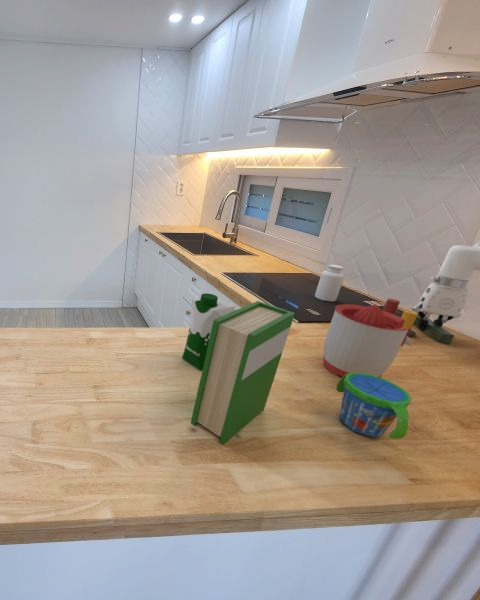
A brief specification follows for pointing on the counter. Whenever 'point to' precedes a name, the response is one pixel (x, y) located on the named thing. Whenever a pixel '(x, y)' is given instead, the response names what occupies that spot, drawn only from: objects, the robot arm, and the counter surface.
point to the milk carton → (203, 327)
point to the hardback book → (240, 367)
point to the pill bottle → (330, 283)
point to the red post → (391, 306)
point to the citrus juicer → (363, 340)
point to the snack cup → (373, 405)
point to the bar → (436, 331)
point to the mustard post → (409, 321)
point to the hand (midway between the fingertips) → (427, 329)
